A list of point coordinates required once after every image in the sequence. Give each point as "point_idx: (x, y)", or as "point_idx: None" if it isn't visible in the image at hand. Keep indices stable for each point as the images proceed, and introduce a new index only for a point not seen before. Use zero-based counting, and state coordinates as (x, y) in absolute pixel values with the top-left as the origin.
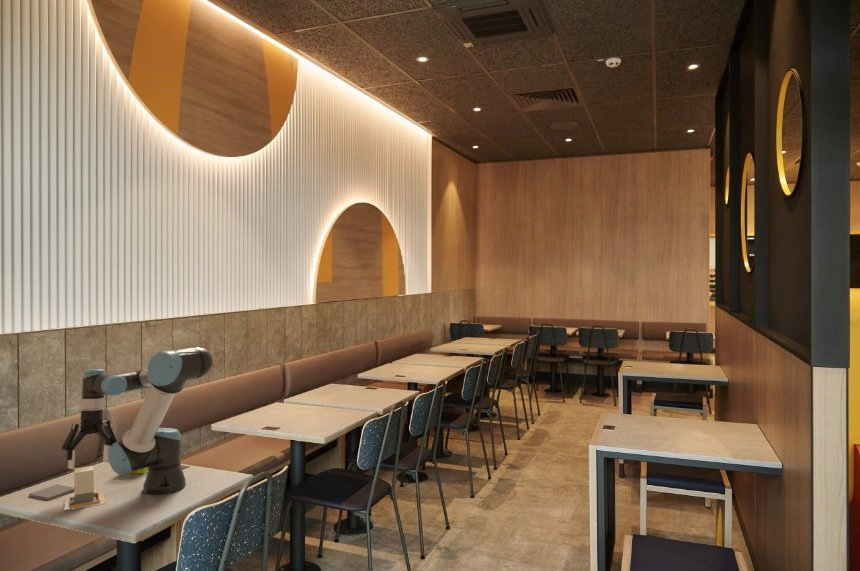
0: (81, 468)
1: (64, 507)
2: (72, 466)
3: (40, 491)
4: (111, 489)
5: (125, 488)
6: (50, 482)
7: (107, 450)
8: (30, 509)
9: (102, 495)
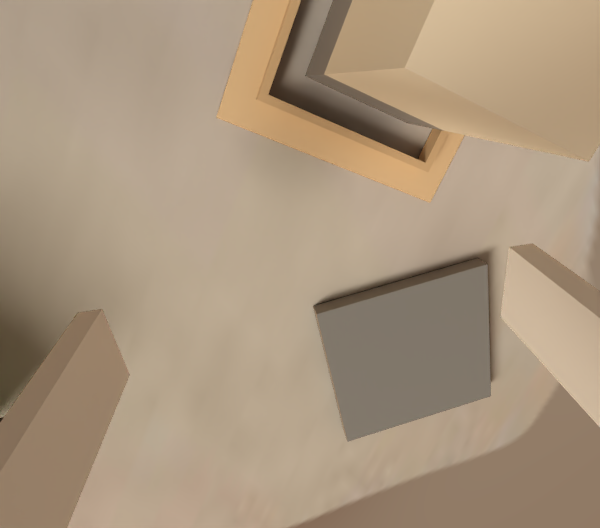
0: (559, 70)
1: None
2: (550, 256)
3: (448, 391)
4: (143, 145)
5: (43, 67)
6: (333, 505)
7: (30, 440)
8: (593, 188)
9: (247, 49)
